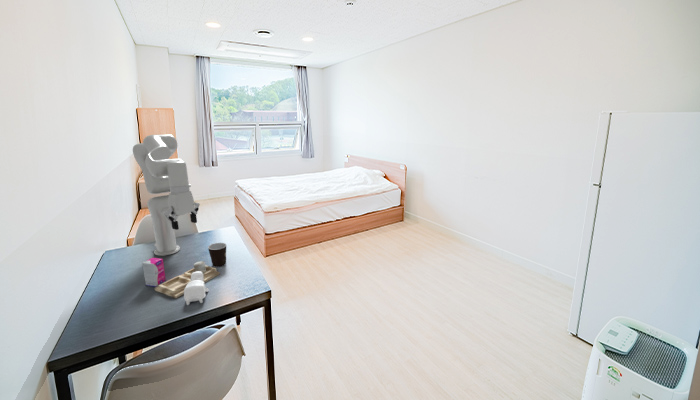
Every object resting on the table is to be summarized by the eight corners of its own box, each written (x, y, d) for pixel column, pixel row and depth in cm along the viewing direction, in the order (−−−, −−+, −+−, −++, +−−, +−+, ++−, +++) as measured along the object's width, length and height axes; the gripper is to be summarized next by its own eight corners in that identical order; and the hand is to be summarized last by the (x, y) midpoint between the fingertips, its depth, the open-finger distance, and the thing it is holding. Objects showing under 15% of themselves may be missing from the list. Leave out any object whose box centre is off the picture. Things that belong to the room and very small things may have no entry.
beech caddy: (154, 290, 138) (152, 277, 137) (199, 268, 158) (198, 256, 157) (176, 298, 132) (174, 285, 131) (219, 274, 152) (218, 262, 151)
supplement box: (157, 287, 141) (152, 264, 138) (145, 286, 142) (141, 262, 139) (166, 281, 146) (163, 258, 143) (155, 279, 147) (151, 257, 144)
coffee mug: (222, 268, 158) (219, 250, 155) (206, 267, 159) (204, 248, 157) (234, 258, 169) (233, 241, 166) (220, 257, 170) (218, 239, 168)
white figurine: (207, 307, 132) (210, 278, 143) (204, 294, 127) (207, 266, 138) (184, 310, 130) (189, 281, 141) (180, 297, 125) (185, 268, 136)
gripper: (190, 184, 149) (195, 219, 153) (155, 192, 133) (161, 230, 138) (202, 186, 146) (206, 221, 150) (168, 194, 131) (174, 233, 135)
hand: (185, 225), depth 144 cm, fingers open, 9 cm apart
